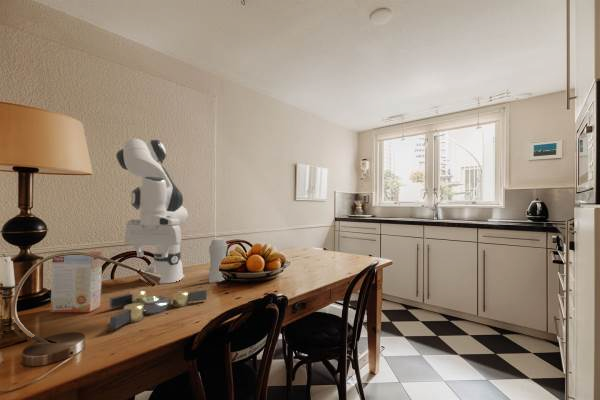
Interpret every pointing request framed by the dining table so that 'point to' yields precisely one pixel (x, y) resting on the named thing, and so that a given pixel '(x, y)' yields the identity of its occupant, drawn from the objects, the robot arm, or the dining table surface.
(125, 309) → the knob front
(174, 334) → the dining table surface
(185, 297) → the knob left
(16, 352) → the dining table surface
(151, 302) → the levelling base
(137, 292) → the knob back
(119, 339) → the dining table surface
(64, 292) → the cracker box
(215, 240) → the tall pale column
